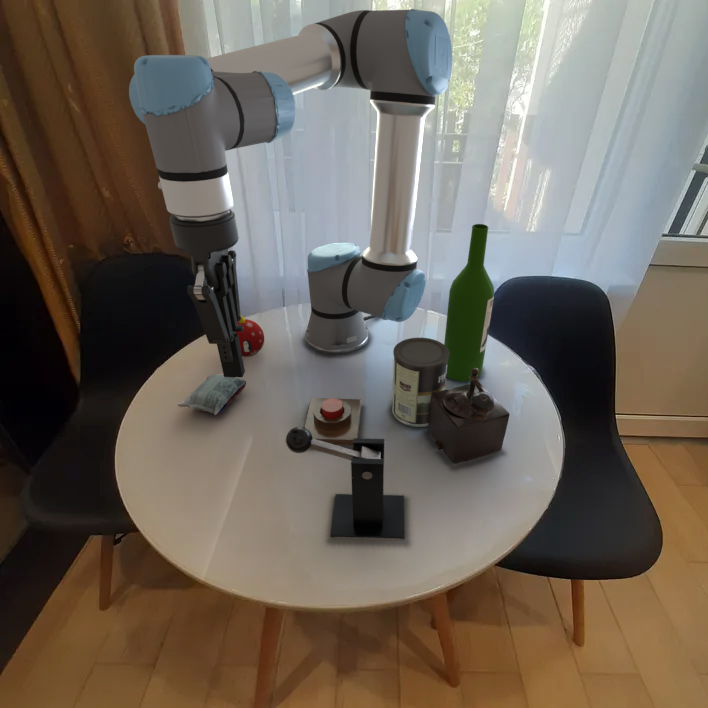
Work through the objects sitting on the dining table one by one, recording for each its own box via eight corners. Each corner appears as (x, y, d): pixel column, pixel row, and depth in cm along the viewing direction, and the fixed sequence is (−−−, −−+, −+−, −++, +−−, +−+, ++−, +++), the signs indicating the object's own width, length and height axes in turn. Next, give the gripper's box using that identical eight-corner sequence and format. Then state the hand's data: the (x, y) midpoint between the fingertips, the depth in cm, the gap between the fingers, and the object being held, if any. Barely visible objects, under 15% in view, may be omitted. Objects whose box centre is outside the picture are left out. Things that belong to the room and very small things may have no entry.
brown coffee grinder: (422, 432, 92) (429, 352, 82) (472, 418, 96) (485, 340, 85) (464, 490, 81) (477, 406, 70) (519, 472, 84) (540, 389, 74)
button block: (311, 406, 98) (310, 390, 96) (361, 407, 98) (360, 391, 96) (302, 447, 88) (300, 431, 86) (357, 449, 88) (356, 432, 86)
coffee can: (445, 398, 101) (451, 340, 92) (439, 431, 93) (446, 370, 84) (396, 392, 102) (398, 334, 94) (387, 423, 94) (388, 362, 86)
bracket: (330, 540, 72) (324, 470, 64) (335, 498, 79) (331, 430, 70) (404, 542, 72) (408, 472, 64) (403, 500, 79) (407, 432, 70)
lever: (280, 454, 65) (287, 435, 63) (285, 436, 68) (292, 418, 66) (372, 480, 68) (381, 463, 66) (373, 461, 71) (382, 445, 69)
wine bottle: (481, 384, 105) (505, 236, 86) (440, 379, 106) (454, 232, 87) (482, 361, 112) (504, 220, 93) (443, 357, 113) (457, 217, 94)
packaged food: (180, 415, 95) (174, 395, 92) (214, 381, 104) (210, 362, 101) (219, 424, 93) (215, 404, 90) (250, 389, 102) (247, 370, 100)
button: (323, 405, 93) (322, 398, 92) (343, 405, 93) (343, 398, 92) (320, 418, 89) (319, 411, 88) (342, 419, 89) (341, 412, 88)
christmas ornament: (265, 342, 118) (259, 305, 112) (267, 361, 111) (262, 322, 105) (228, 346, 116) (221, 309, 110) (229, 366, 109) (220, 327, 103)
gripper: (188, 196, 63) (222, 350, 77) (147, 229, 52) (194, 401, 66) (246, 197, 63) (269, 351, 77) (216, 230, 52) (249, 402, 66)
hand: (234, 374), depth 72 cm, fingers closed
